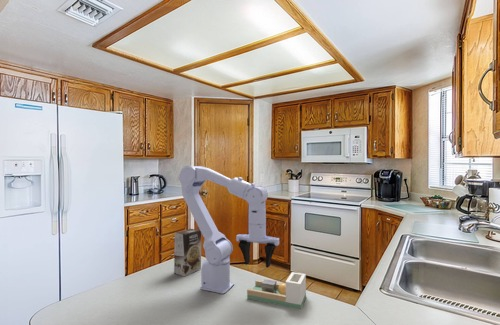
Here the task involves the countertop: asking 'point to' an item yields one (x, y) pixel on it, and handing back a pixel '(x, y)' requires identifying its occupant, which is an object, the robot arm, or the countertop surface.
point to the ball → (282, 289)
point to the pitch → (291, 299)
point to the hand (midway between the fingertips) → (257, 264)
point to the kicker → (269, 286)
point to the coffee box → (187, 252)
